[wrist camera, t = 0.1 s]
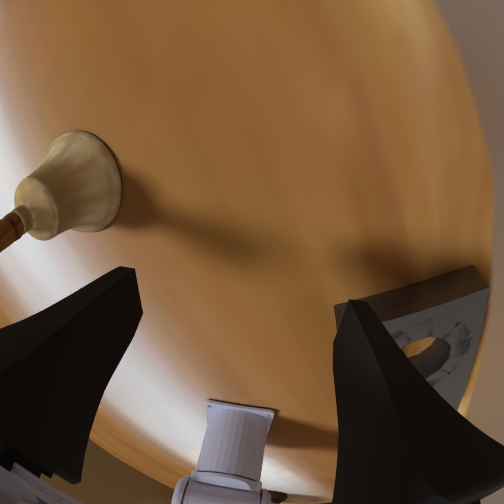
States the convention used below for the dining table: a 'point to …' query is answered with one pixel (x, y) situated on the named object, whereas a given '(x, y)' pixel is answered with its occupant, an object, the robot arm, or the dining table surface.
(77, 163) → the hand bell
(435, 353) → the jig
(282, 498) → the black ball on stand
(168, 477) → the dining table surface
